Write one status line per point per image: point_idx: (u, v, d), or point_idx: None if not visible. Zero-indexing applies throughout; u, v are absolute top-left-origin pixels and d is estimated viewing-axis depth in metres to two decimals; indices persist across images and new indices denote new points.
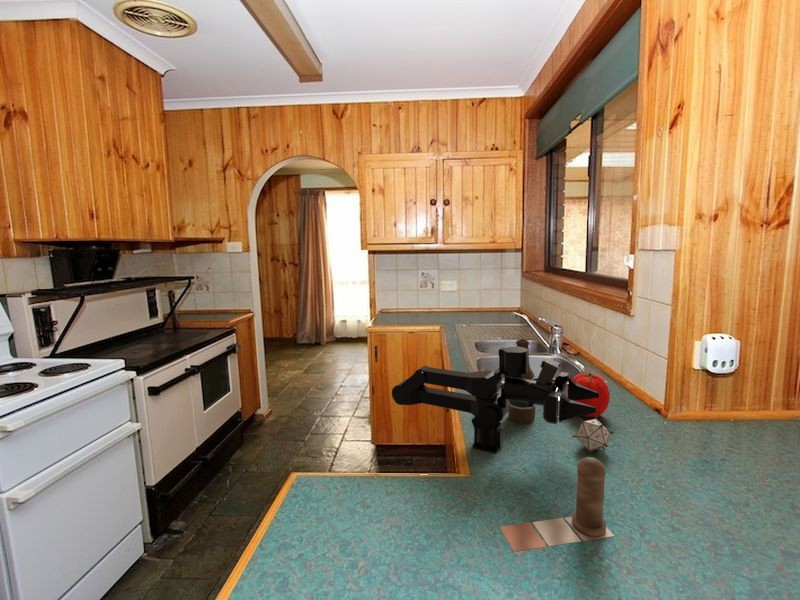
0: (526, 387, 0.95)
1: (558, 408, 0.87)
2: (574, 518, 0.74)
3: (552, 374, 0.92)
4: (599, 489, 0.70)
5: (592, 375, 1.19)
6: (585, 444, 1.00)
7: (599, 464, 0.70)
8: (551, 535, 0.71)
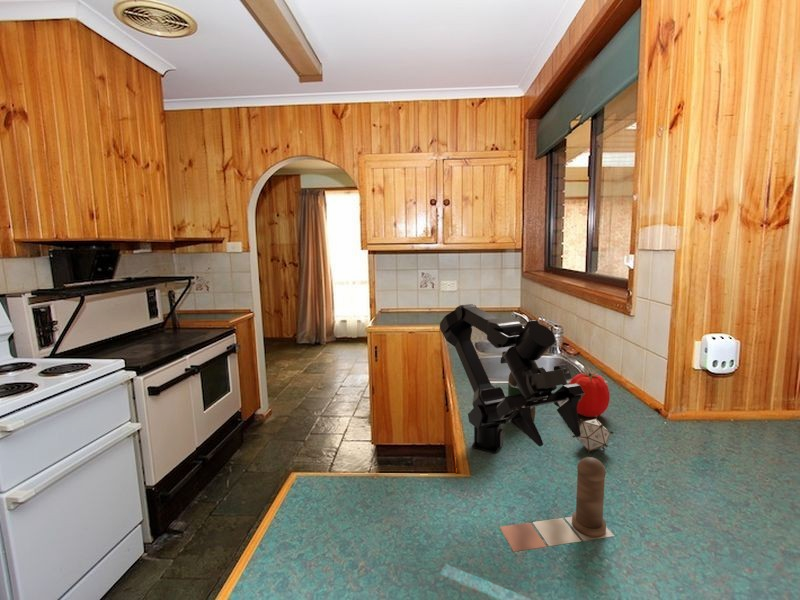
0: (521, 370, 0.85)
1: (511, 413, 0.80)
2: (574, 518, 0.74)
3: (542, 386, 0.79)
4: (599, 489, 0.70)
5: (592, 375, 1.19)
6: (585, 444, 1.00)
7: (599, 464, 0.70)
8: (551, 535, 0.71)
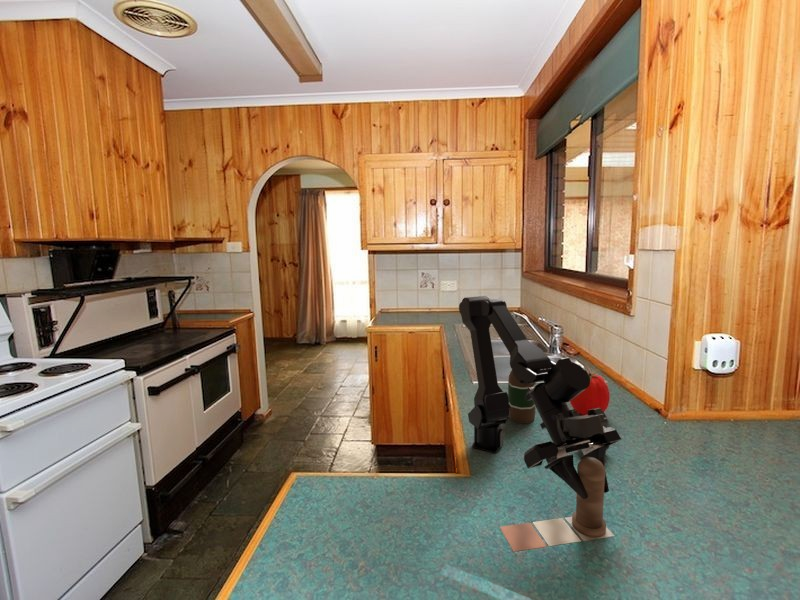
0: (550, 412, 0.77)
1: (552, 461, 0.73)
2: (574, 518, 0.74)
3: (577, 434, 0.71)
4: (599, 489, 0.70)
5: (592, 375, 1.19)
6: None
7: (599, 464, 0.70)
8: (551, 535, 0.71)
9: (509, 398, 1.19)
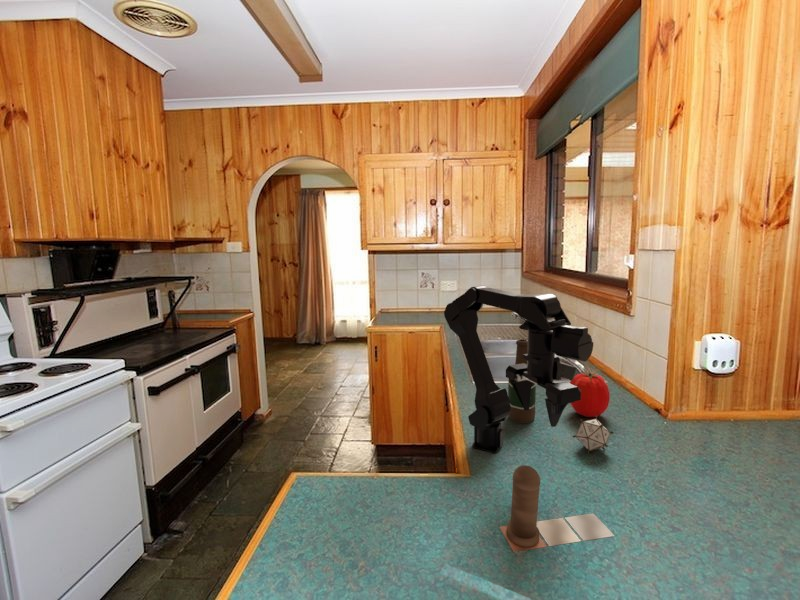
0: (554, 354, 0.87)
1: None
2: (510, 523, 0.73)
3: (569, 377, 0.89)
4: (527, 499, 0.68)
5: (592, 375, 1.19)
6: (585, 444, 1.00)
7: (532, 474, 0.68)
8: (551, 535, 0.71)
9: (509, 398, 1.19)
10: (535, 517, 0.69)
